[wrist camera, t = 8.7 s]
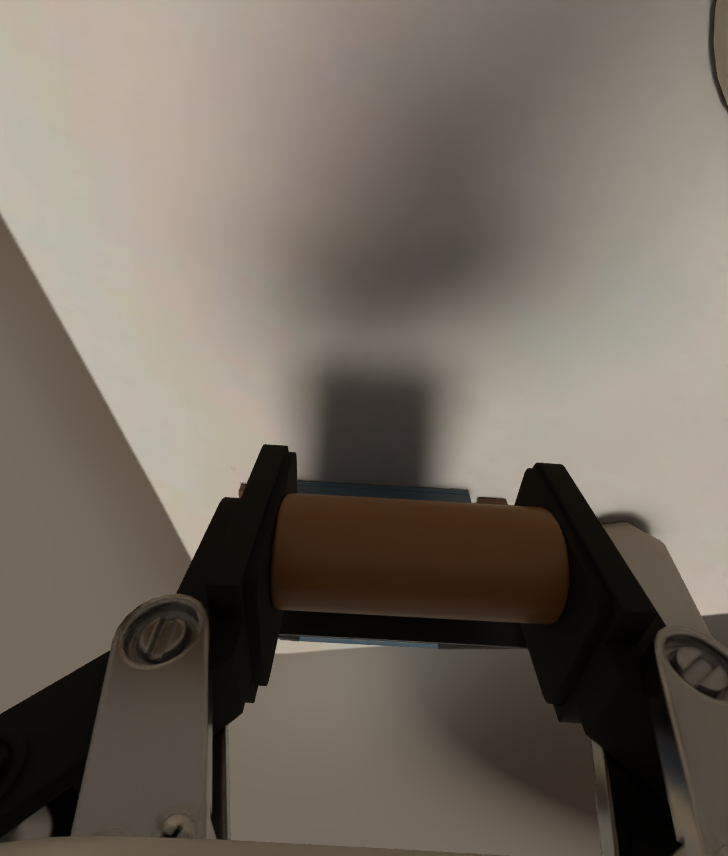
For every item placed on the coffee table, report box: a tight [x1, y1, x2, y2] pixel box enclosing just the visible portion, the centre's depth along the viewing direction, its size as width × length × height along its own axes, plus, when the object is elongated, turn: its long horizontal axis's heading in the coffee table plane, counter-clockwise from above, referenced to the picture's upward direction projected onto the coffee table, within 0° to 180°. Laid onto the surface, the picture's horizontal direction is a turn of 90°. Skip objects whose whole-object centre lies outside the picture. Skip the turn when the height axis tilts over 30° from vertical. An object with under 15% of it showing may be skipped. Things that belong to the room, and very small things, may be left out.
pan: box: [270, 493, 570, 649], centre depth 16 cm, size 20×9×3 cm
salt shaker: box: [601, 522, 712, 638], centre depth 27 cm, size 6×6×13 cm
